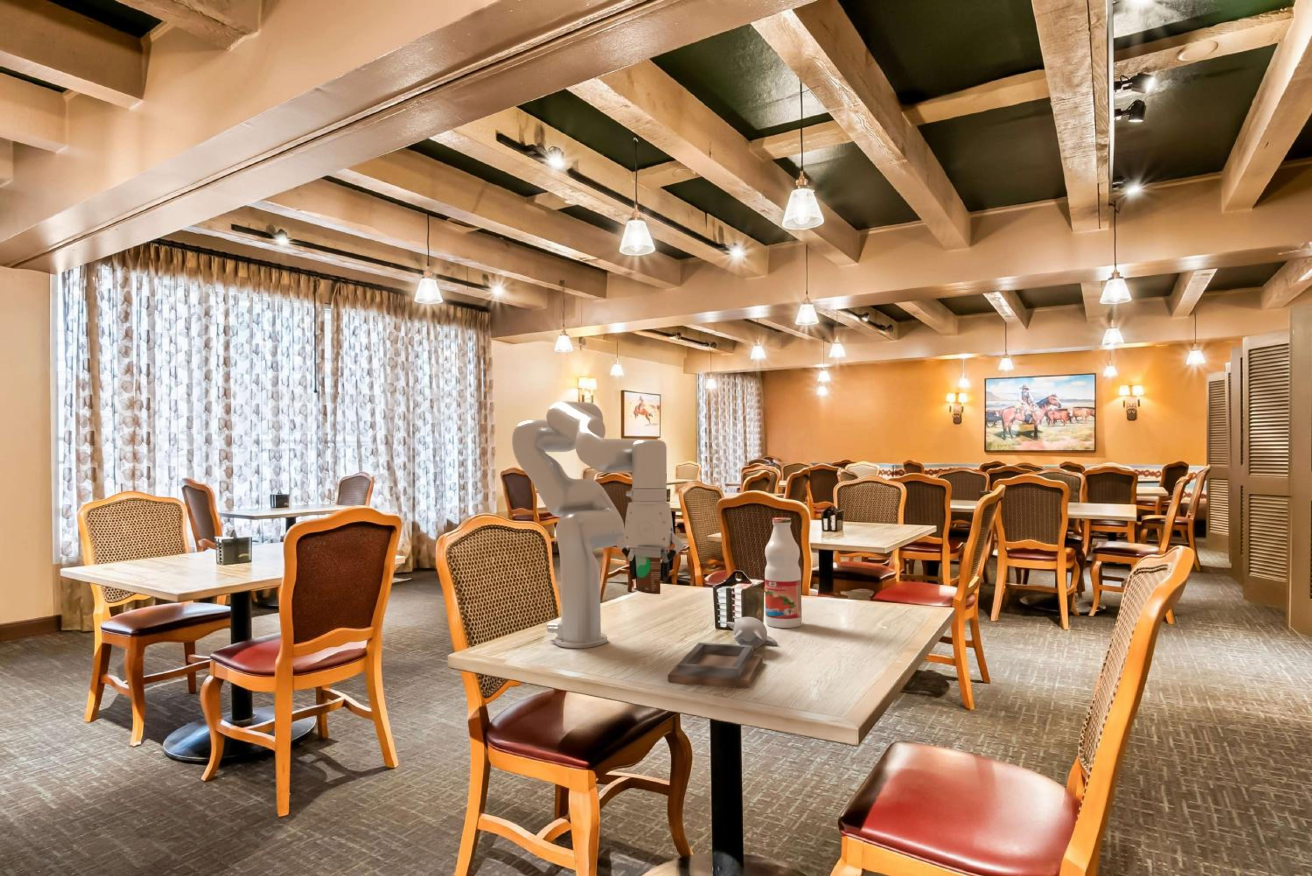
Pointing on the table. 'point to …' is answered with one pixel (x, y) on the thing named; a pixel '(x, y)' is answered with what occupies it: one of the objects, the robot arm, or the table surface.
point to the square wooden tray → (717, 666)
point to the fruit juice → (782, 577)
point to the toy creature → (750, 632)
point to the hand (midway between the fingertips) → (649, 578)
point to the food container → (648, 569)
